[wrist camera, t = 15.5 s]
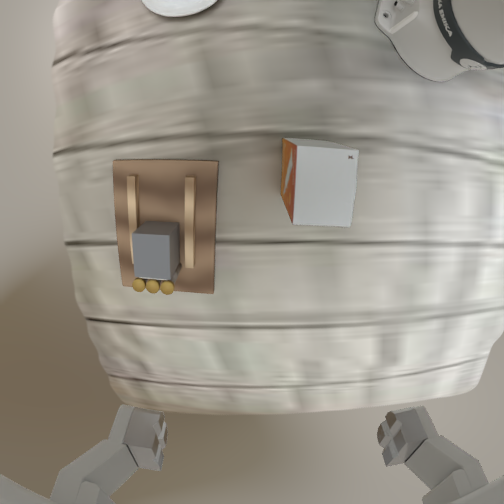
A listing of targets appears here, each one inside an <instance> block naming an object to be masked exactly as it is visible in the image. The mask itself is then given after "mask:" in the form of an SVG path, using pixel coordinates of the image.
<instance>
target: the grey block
mask: <svg viewBox="0 0 504 504" xmlns="http://www.w3.org/2000/svg"><path fill="white" fill-rule="evenodd" d="M132 247H133V261H134V274H135V277H139V278H147V279H158V280H171V278H172V276H173V274H174V272H175V270H176V268H177V266H178V264H179V263H180V223H179V222H159V221H145V222H144V223H143V224H142V225H141V226H140V227H138V228H137V229H136V230H135V231H134V232H133V233H132Z"/></svg>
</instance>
